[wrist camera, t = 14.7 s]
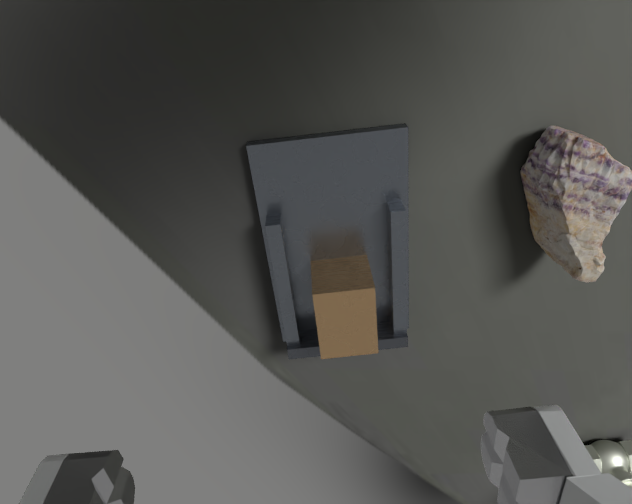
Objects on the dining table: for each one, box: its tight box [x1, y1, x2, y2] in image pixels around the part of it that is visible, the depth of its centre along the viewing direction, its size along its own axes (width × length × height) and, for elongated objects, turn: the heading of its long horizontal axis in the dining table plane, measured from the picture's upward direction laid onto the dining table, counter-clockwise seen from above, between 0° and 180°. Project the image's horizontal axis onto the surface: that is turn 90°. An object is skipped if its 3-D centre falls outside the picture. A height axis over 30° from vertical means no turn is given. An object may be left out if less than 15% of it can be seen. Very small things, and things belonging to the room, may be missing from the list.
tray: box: [246, 124, 409, 359], centre depth 40 cm, size 12×20×4 cm, turn 6°
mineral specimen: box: [520, 126, 632, 283], centre depth 37 cm, size 13×7×6 cm, turn 22°
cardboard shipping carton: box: [311, 255, 378, 359], centre depth 41 cm, size 5×7×5 cm
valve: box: [585, 440, 632, 489], centre depth 53 cm, size 7×7×12 cm
